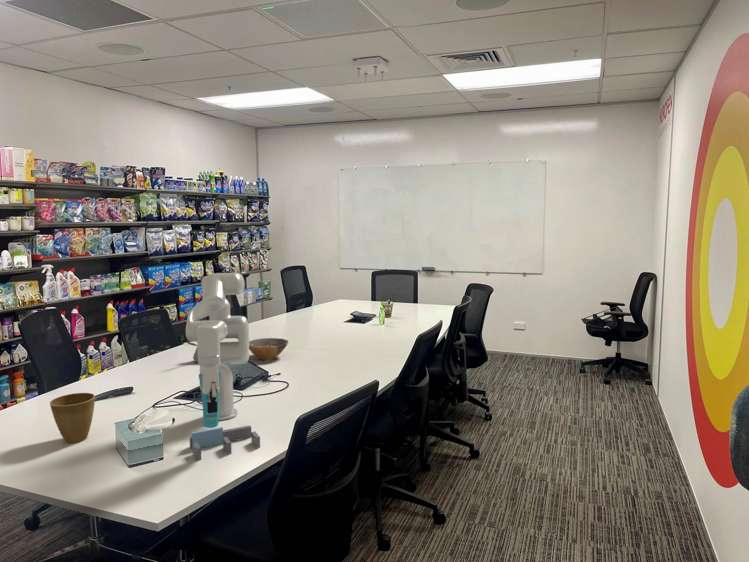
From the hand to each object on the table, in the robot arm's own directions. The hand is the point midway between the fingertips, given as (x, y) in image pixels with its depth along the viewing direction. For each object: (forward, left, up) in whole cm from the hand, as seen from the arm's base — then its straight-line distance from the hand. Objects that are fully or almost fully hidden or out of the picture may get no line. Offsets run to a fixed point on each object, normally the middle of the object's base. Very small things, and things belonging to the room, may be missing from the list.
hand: (210, 409), depth 192 cm
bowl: (-121, +59, -16) cm, 136 cm away
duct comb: (-4, +5, -16) cm, 17 cm away
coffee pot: (-128, +20, -16) cm, 131 cm away
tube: (0, 0, -6) cm, 6 cm away
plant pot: (-38, -43, -16) cm, 60 cm away
